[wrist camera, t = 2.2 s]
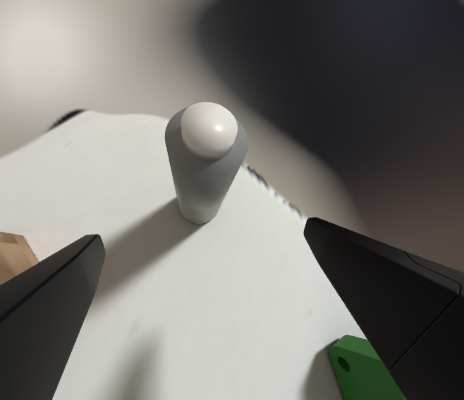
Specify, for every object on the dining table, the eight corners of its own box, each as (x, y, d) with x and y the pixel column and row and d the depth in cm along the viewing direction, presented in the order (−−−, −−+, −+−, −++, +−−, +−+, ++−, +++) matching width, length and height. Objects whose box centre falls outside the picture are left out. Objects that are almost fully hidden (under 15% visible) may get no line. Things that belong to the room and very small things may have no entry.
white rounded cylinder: (225, 199, 21) (267, 118, 9) (206, 231, 19) (228, 182, 8) (192, 179, 21) (195, 75, 9) (170, 211, 19) (141, 131, 8)
